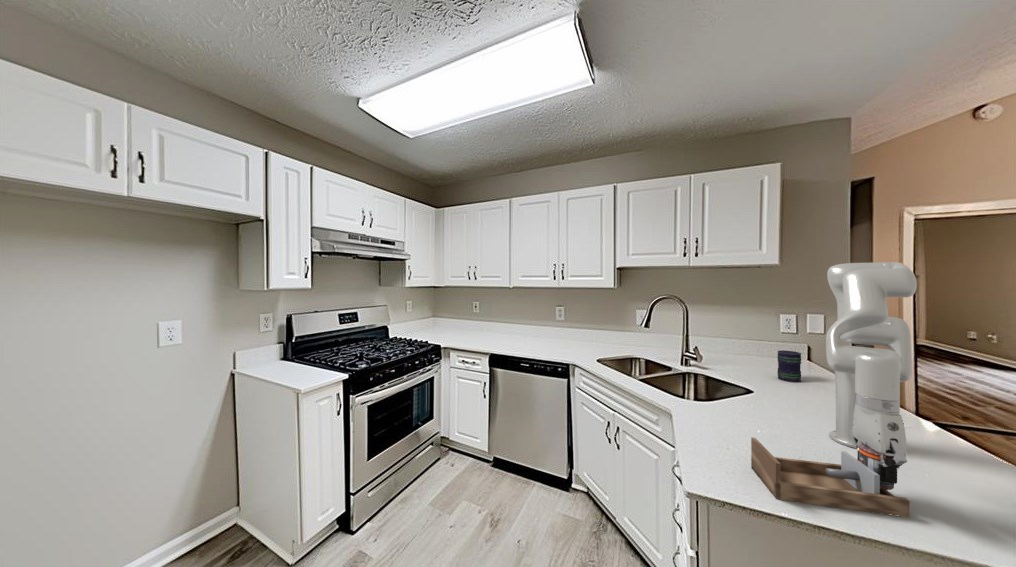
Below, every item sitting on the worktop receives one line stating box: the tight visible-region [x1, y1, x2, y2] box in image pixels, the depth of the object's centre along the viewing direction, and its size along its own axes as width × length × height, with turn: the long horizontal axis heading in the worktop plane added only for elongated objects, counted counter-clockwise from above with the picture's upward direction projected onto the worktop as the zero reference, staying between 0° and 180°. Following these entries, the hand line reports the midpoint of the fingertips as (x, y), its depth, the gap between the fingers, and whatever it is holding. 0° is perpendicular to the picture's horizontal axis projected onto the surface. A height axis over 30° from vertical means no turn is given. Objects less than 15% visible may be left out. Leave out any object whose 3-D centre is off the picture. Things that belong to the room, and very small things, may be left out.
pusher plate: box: [825, 451, 880, 494], centre depth 85 cm, size 7×11×7 cm, turn 164°
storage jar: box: [776, 349, 802, 384], centre depth 178 cm, size 10×10×15 cm
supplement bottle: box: [858, 442, 895, 491], centre depth 83 cm, size 6×6×11 cm
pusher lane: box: [750, 437, 911, 518], centre depth 86 cm, size 26×14×9 cm, turn 74°
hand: (876, 473), depth 83 cm, fingers closed on supplement bottle, 6 cm apart
